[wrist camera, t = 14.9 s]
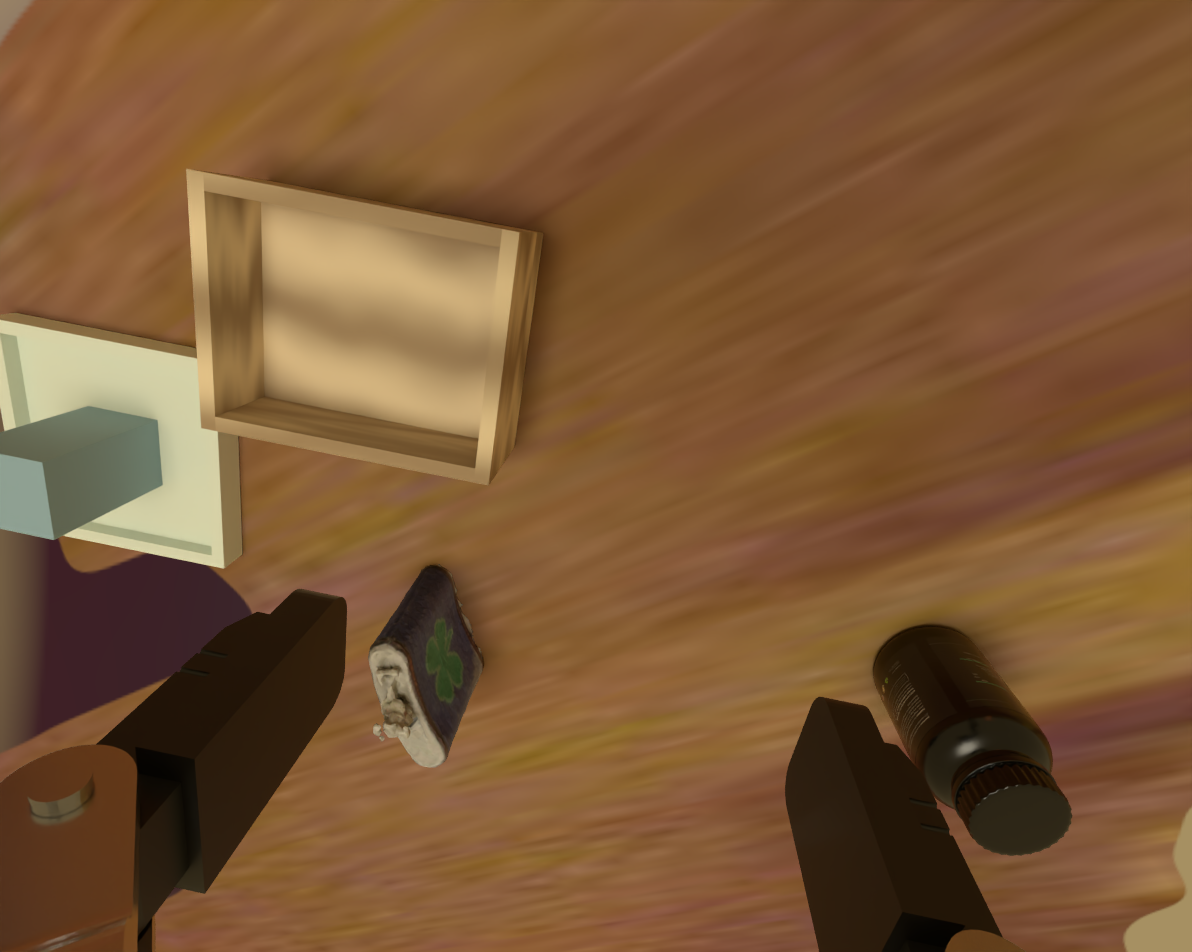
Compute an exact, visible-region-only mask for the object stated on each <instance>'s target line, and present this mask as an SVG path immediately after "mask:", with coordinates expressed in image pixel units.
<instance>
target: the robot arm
mask: <svg viewBox="0 0 1192 952" xmlns="http://www.w3.org/2000/svg"><path fill="white" fill-rule="evenodd" d="M346 622H347V604H346V601H345V599H344V598H343V597H338V596H333V595H328V594H323V593H319V592H314V591H309V590H304V589H297V590H295V591H294V592H292V593H291V594H290V595H289V596H288V597H287V598H286V599H285V600H284V601H283V602H282V603H281V604H280V605H279V606H278V607H277V608H276V609H275V610H274V611H273V612H272V613H271V614H265V613H260V612H256V613H254V614H252V615H250V616H248V617H246V618H244V619H242V620H240V621H237V622H235V623H233V624H231V625H229V626H227V627H225V628H224V629H223V630H222V631H221V632H220V633H218V634H217V635H216V636H215V637H214V638H213V639H212V640H211V641H210V642H208V643H207V644H206V645H205V646H204V647H203V648H202V650H201V652H200V654H198V653H197V654H195V655H194V656H193V657H192V658H191V659H190V660H189V661H188V662H186V663H185V664H184V665H183V666H182V667H181V671H180V672H175V673H174V674H173V675H172V676H171V677H170V678H169V679H168V680H167V681H166V682H164V683H163V684H162V685H161V686H160V687H159V688H158V689H157V690H156V691H154V692H153V693H152V694H151V695H150V696H149V697H148V698H147V699H146V700H145V701H143V702H142V703H141V704H140V705H139V706H138V707H137V708H136V709H135V710H134V711H132V712H131V713H130V714H129V715H128V716H127V717H126V718H125V719H124V720H123V721H121V722H120V723H119V724H118V725H117V726H116V727H115V728H114V729H113V730H112V731H110V732H109V733H108V734H107V735H106V736H105V737H104V738H103V739H102V740H100V741H99V742H98V743H97V744H96V745H81V746H76V747H70V748H66V749H62V750H59V751H55V752H53V753H50V754H47V755H44V756H42V757H40V758H38V759H36V760H33V761H31V762H29V763H28V764H26V765H24V766H22V767H21V768H19V769H17V770H16V771H15V772H13V773H12V774H10V775H9V776H7V777H6V778H5V779H4V780H3V781H2V782H1V783H0V952H155V940H156V923H155V915H154V914H155V913H156V912H157V910H158V909H159V908H160V906H161V905H162V904H163V902H164V901H165V900H166V898H167V897H168V895H169V894H170V893H171V891H172V890H173V889H174V887H176V888H181V889H186V890H190V891H195V892H200V893H204V894H205V893H206V891H207V890H208V888H209V887H210V886H211V884H212V883H213V881H214V880H215V878H216V877H217V875H218V874H219V872H220V871H221V870H222V868H223V867H224V865H225V864H226V862H227V861H228V859H229V858H230V856H231V855H232V853H233V852H234V851H235V849H236V848H237V846H238V845H239V843H240V842H241V840H242V839H243V837H244V836H245V835H246V833H247V832H248V830H249V829H250V827H251V826H252V824H253V823H254V821H255V820H256V819H257V817H258V816H259V814H260V813H261V811H262V810H263V808H264V807H265V805H266V804H267V803H268V801H269V800H270V798H271V797H272V795H273V794H274V792H275V791H276V789H277V788H278V787H279V785H280V784H281V782H282V781H283V779H284V778H285V776H286V775H287V773H288V772H289V771H290V769H291V768H292V766H293V765H294V763H295V762H296V760H297V759H298V757H299V756H300V755H301V753H302V752H303V750H304V749H305V747H306V746H307V744H308V743H309V741H310V740H311V739H312V737H313V736H314V734H315V733H316V731H317V730H318V728H319V727H320V725H321V724H322V723H323V721H324V720H325V718H326V717H327V715H328V714H329V712H330V711H331V709H332V708H333V706H334V704H335V702H336V700H337V698H338V695H339V693H340V690H341V687H342V683H343V679H344V672H345V649H346ZM785 797H786V806H787V810H788V815H789V819H790V824H791V828H792V833H793V837H794V841H795V846H796V850H797V855H798V859H799V864H800V868H801V872H802V877H803V881H804V886H805V890H806V895H807V899H808V903H809V908H810V912H811V917H812V921H813V926H814V930H815V934H816V939H817V943H818V948H819V952H1026V951H1024V950H1023V949H1021V948H1020V947H1018V946H1017V945H1015V944H1014V943H1012V942H1010V941H1008V940H1006V939H1004V938H1003V937H1002V935H1001V933H1000V931H999V929H998V927H997V925H996V922H995V920H994V918H993V916H992V914H991V912H990V910H989V908H988V906H987V904H986V902H985V900H984V898H983V896H982V894H981V892H980V890H979V888H978V886H977V884H976V882H975V880H974V878H973V876H972V874H971V872H970V870H969V868H968V866H967V863H966V861H965V859H964V857H963V855H962V853H961V851H960V849H959V847H958V845H957V843H956V841H955V839H954V837H953V836H951V835H950V834H949V830H950V829H949V827H948V825H947V823H946V821H945V819H944V817H943V815H942V813H941V811H940V810H939V809H937V802H936V800H935V798H934V796H933V794H932V792H931V790H930V788H929V786H928V784H927V782H926V780H925V778H924V776H923V774H922V773H921V772H920V770H919V769H918V768H917V767H916V766H915V765H914V764H913V763H912V762H911V760H910V759H909V758H908V757H907V756H906V755H905V754H904V753H903V752H902V750H901V749H900V748H899V747H898V746H897V745H894V744H889V743H884V741H883V739H882V737H881V734H880V732H879V730H878V728H877V725H876V723H875V721H874V719H873V716H872V714H871V712H870V710H869V709H868V708H867V707H866V706H863V705H858V704H853V703H849V702H844V701H839V700H834V699H829V698H824V697H818V698H816V699H815V700H814V702H813V704H812V706H811V708H810V711H809V713H808V716H807V719H806V721H805V724H804V726H803V729H802V732H801V734H800V737H799V739H798V742H797V745H796V747H795V750H794V753H793V755H792V758H791V760H790V763H789V766H788V770H787V775H786V785H785Z"/></svg>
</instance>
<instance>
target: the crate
mask: <svg viewBox="0 0 1192 952" xmlns="http://www.w3.org/2000/svg"><path fill="white" fill-rule="evenodd" d="M186 173H187V191H188V208H189V225H190V243H191V260H192V278H193V295H194V312H195V330H196V347H197V364H198V382H199V399H200V417H201V428H203V429H208V430H213V431H218V432H223V433H228V434H233V435H238V436H243V437H248V438H253V439H258V440H263V441H268V442H273V443H278V444H283V445H288V446H293V447H298V448H303V449H308V450H313V451H318V452H323V453H328V454H333V455H338V456H343V457H348V458H353V459H358V460H363V461H368V462H373V463H378V464H383V465H388V466H393V467H398V468H403V469H408V470H413V471H418V472H423V473H428V474H433V475H438V476H444V477H449V478H454V479H459V480H464V481H469V482H474V483H479V484H484V485H489V484H490V482H491V481H492V480H493V478H494V477H495V475H496V474H497V472H498V471H499V469H500V468H501V466H502V465H503V463H504V462H505V460H506V459H507V457H508V456H509V454H510V453H511V451H512V450H513V448H514V447H515V440H516V432H517V425H518V418H519V410H520V403H521V396H522V388H523V381H524V373H525V366H526V359H527V351H528V344H529V337H530V329H531V322H532V314H533V307H534V300H535V292H536V285H537V278H538V270H539V263H540V255H541V248H542V241H543V233H542V232H537V231H531V230H526V229H521V228H516V227H510V226H505V225H500V224H495V223H489V222H484V221H479V220H474V219H468V218H463V217H458V216H452V215H447V214H442V213H437V212H431V211H426V210H421V209H416V208H410V207H405V206H400V205H395V204H389V203H384V202H379V201H374V200H368V199H363V198H358V197H353V196H347V195H342V194H337V193H332V192H326V191H321V190H316V189H310V188H305V187H300V186H295V185H289V184H284V183H279V182H274V181H268V180H262V179H254V178H247V177H240V176H233V175H226V174H219V173H212V172H205V171H198V170H191V169H186Z"/></svg>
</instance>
